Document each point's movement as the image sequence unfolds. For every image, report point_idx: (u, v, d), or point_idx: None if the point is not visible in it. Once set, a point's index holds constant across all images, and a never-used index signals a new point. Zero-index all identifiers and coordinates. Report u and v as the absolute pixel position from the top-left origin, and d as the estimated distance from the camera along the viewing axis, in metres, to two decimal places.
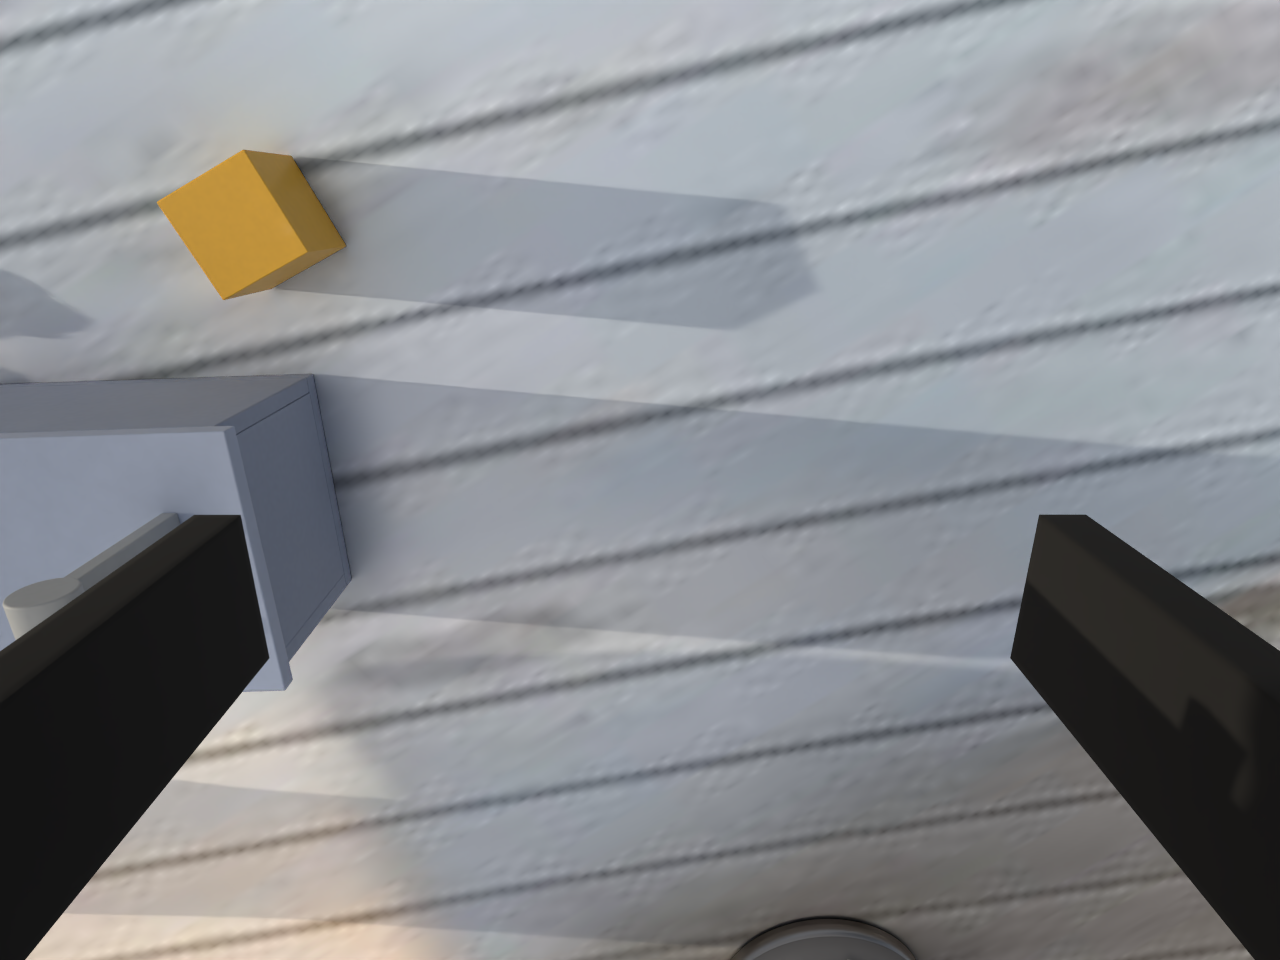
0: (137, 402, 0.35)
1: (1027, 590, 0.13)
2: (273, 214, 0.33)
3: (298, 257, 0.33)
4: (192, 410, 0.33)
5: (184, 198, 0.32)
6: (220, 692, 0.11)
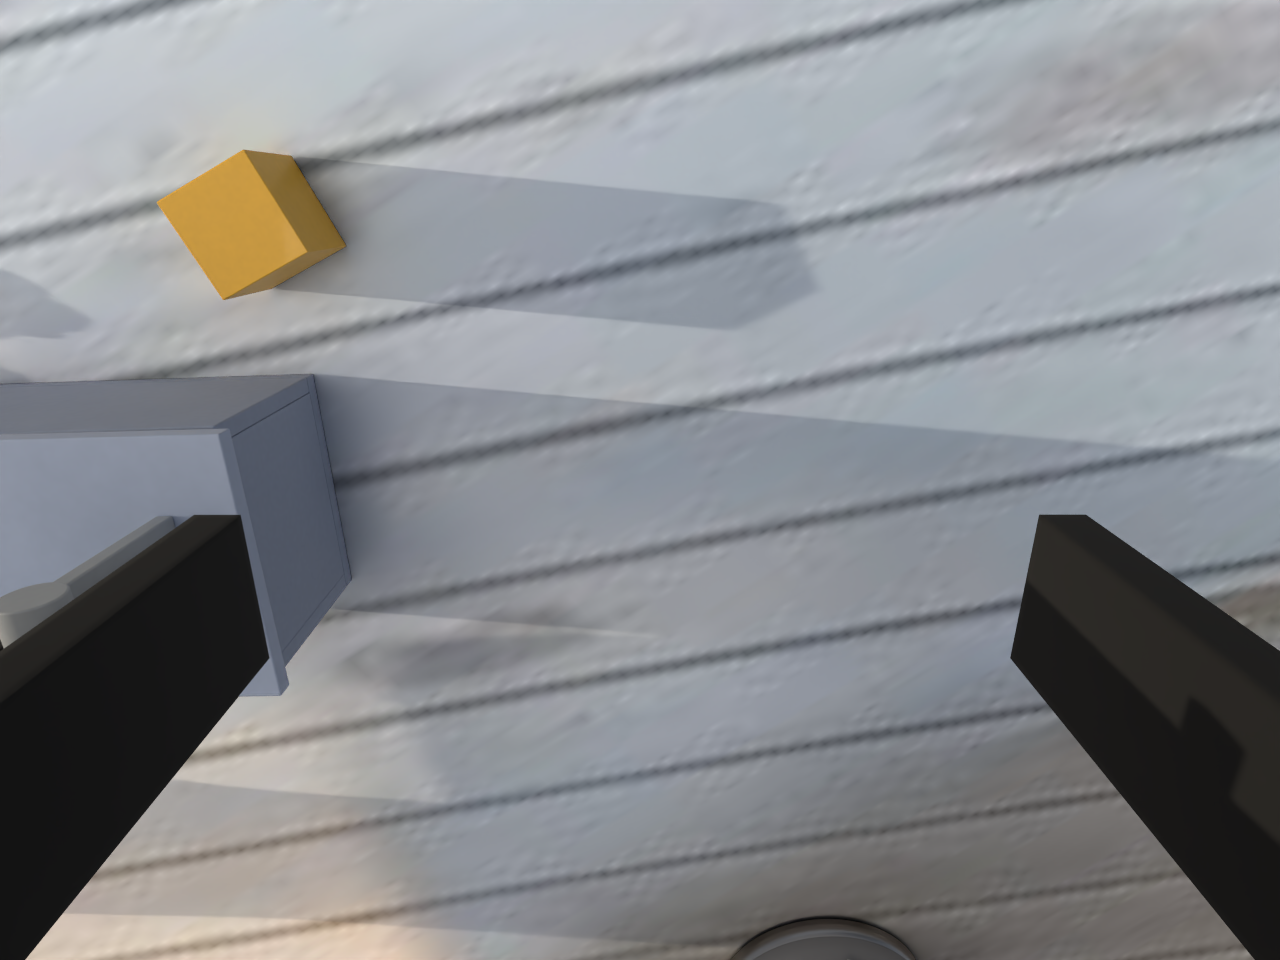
0: (137, 402, 0.35)
1: (1027, 590, 0.13)
2: (273, 214, 0.33)
3: (298, 257, 0.33)
4: (192, 410, 0.33)
5: (184, 198, 0.32)
6: (220, 692, 0.11)
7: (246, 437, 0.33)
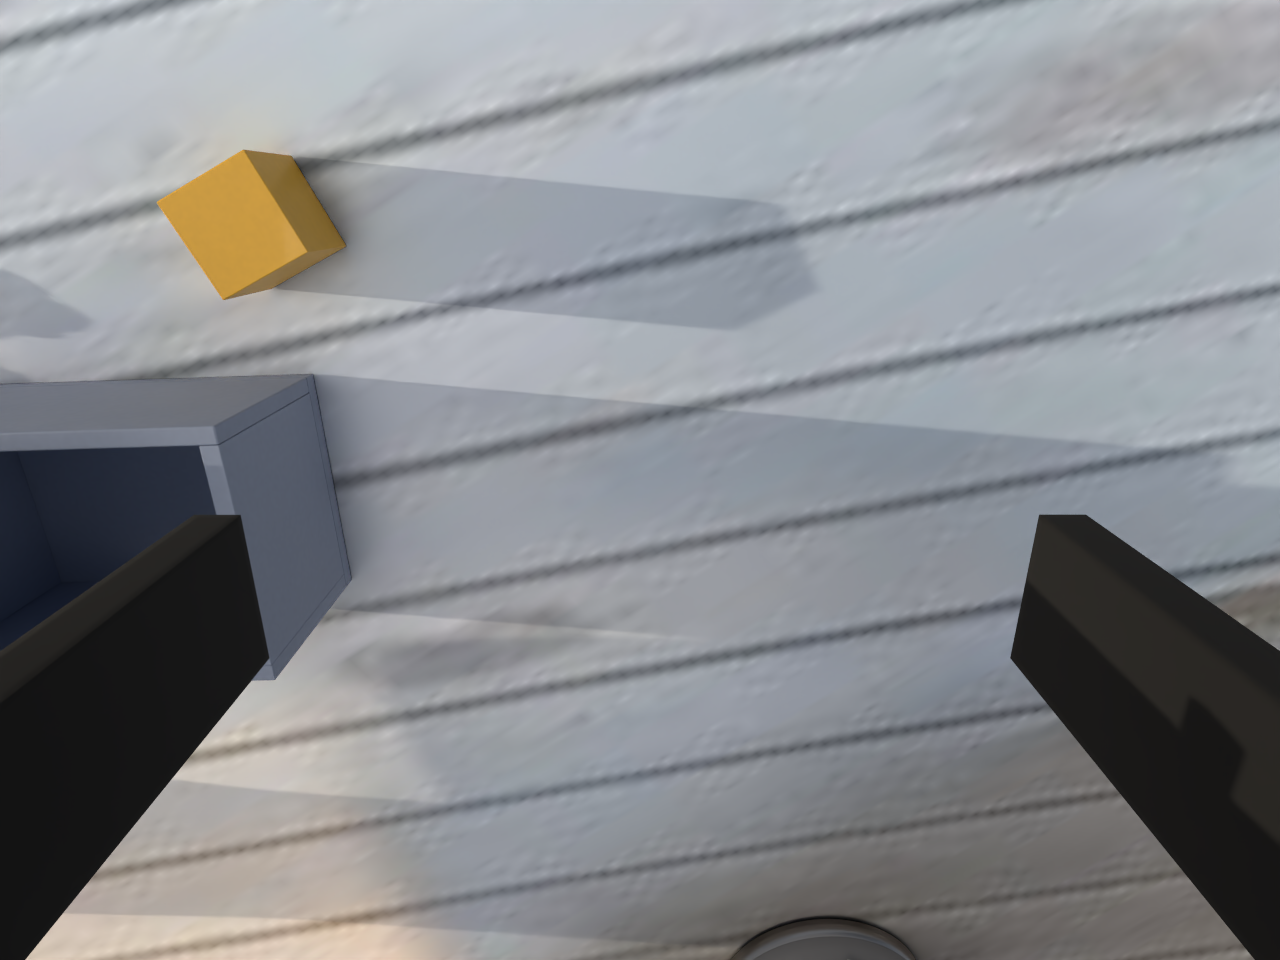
0: (137, 402, 0.35)
1: (1027, 590, 0.13)
2: (273, 214, 0.33)
3: (298, 257, 0.33)
4: (192, 410, 0.33)
5: (184, 198, 0.32)
6: (220, 692, 0.11)
7: (246, 437, 0.33)
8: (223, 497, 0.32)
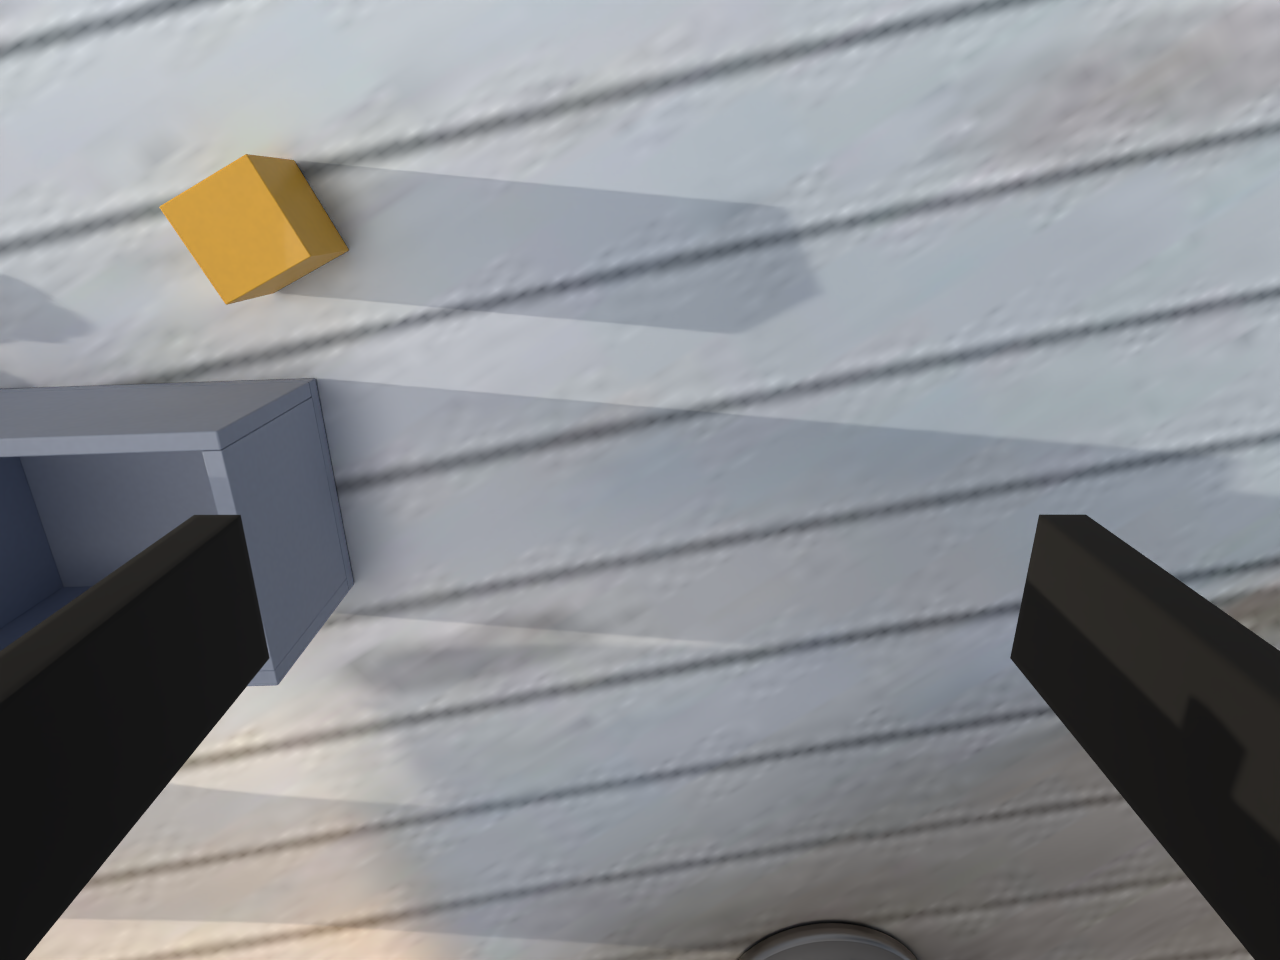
0: (139, 407, 0.35)
1: (1026, 590, 0.13)
2: (276, 219, 0.32)
3: (301, 261, 0.33)
4: (194, 415, 0.33)
5: (187, 203, 0.32)
6: (219, 692, 0.11)
7: (248, 442, 0.33)
8: (225, 502, 0.31)
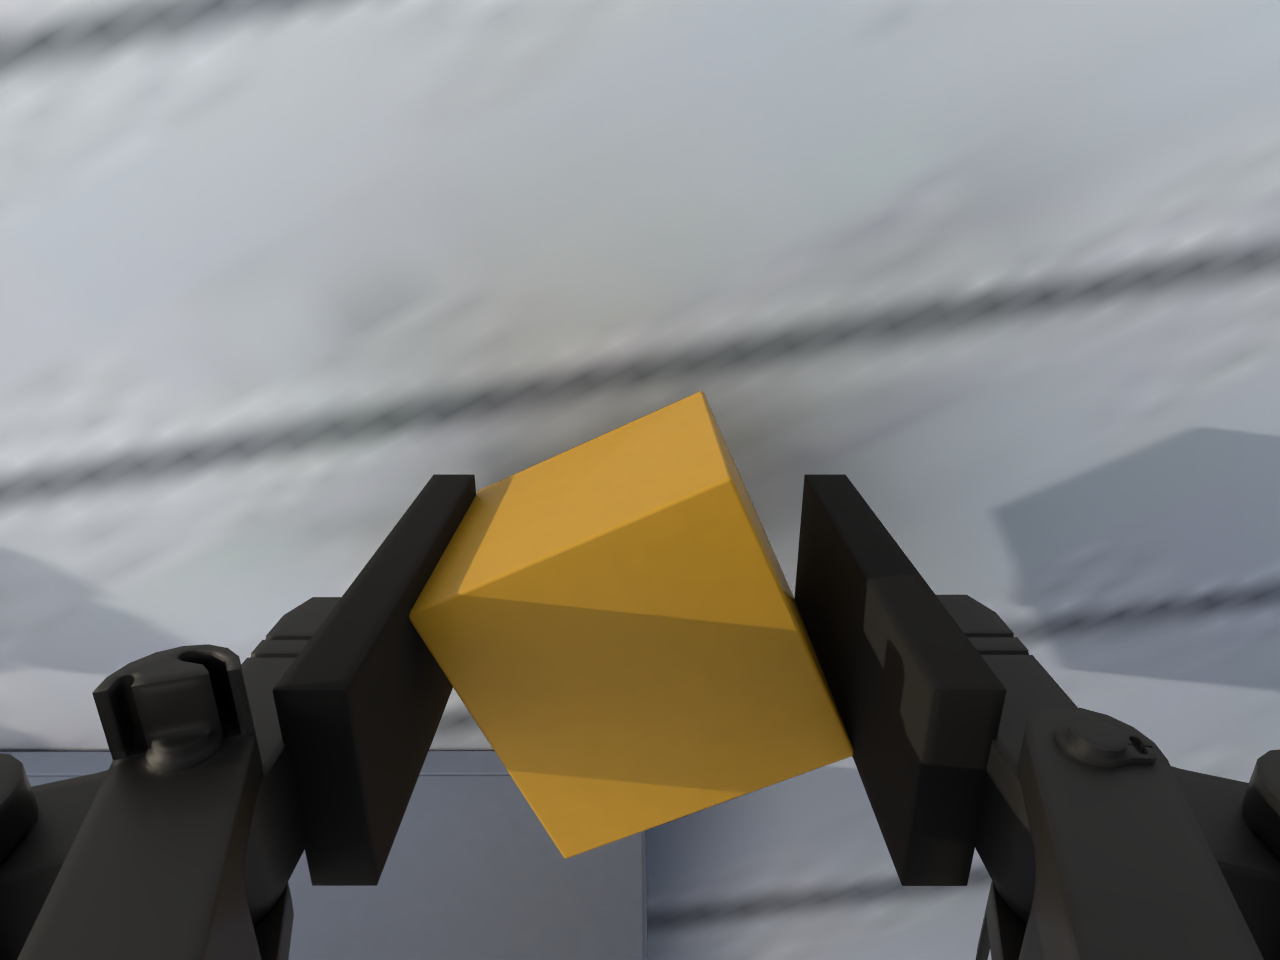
0: (328, 945, 0.14)
1: (801, 542, 0.14)
2: (779, 660, 0.10)
3: (818, 764, 0.11)
4: None
5: (501, 609, 0.10)
6: None
7: None
8: None
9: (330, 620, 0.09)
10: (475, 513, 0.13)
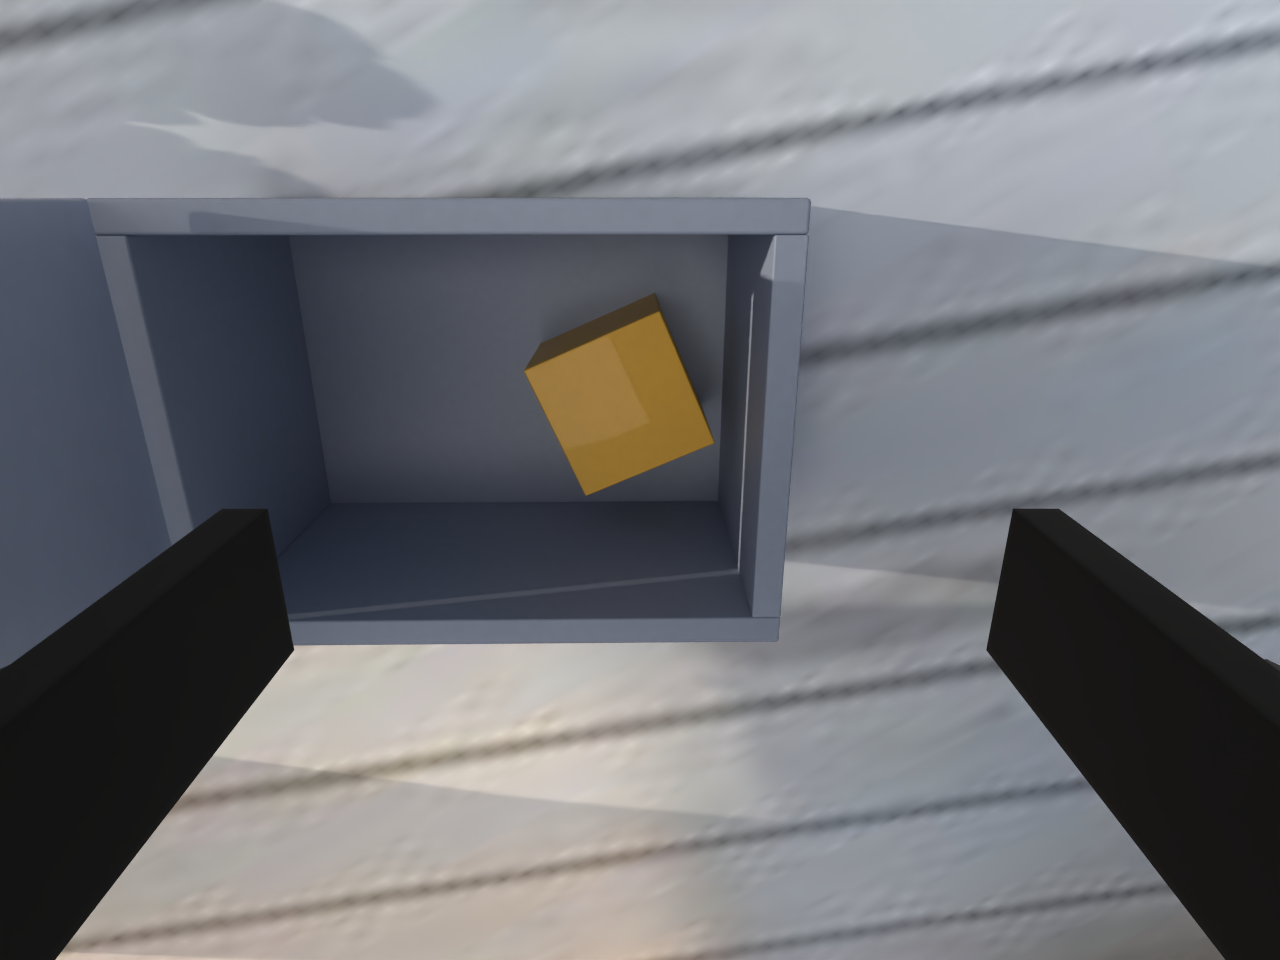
0: None
1: (1001, 583, 0.13)
2: (680, 395, 0.24)
3: (699, 448, 0.25)
4: None
5: (563, 368, 0.23)
6: (248, 682, 0.12)
7: None
8: (789, 329, 0.19)
9: None
10: (542, 347, 0.26)
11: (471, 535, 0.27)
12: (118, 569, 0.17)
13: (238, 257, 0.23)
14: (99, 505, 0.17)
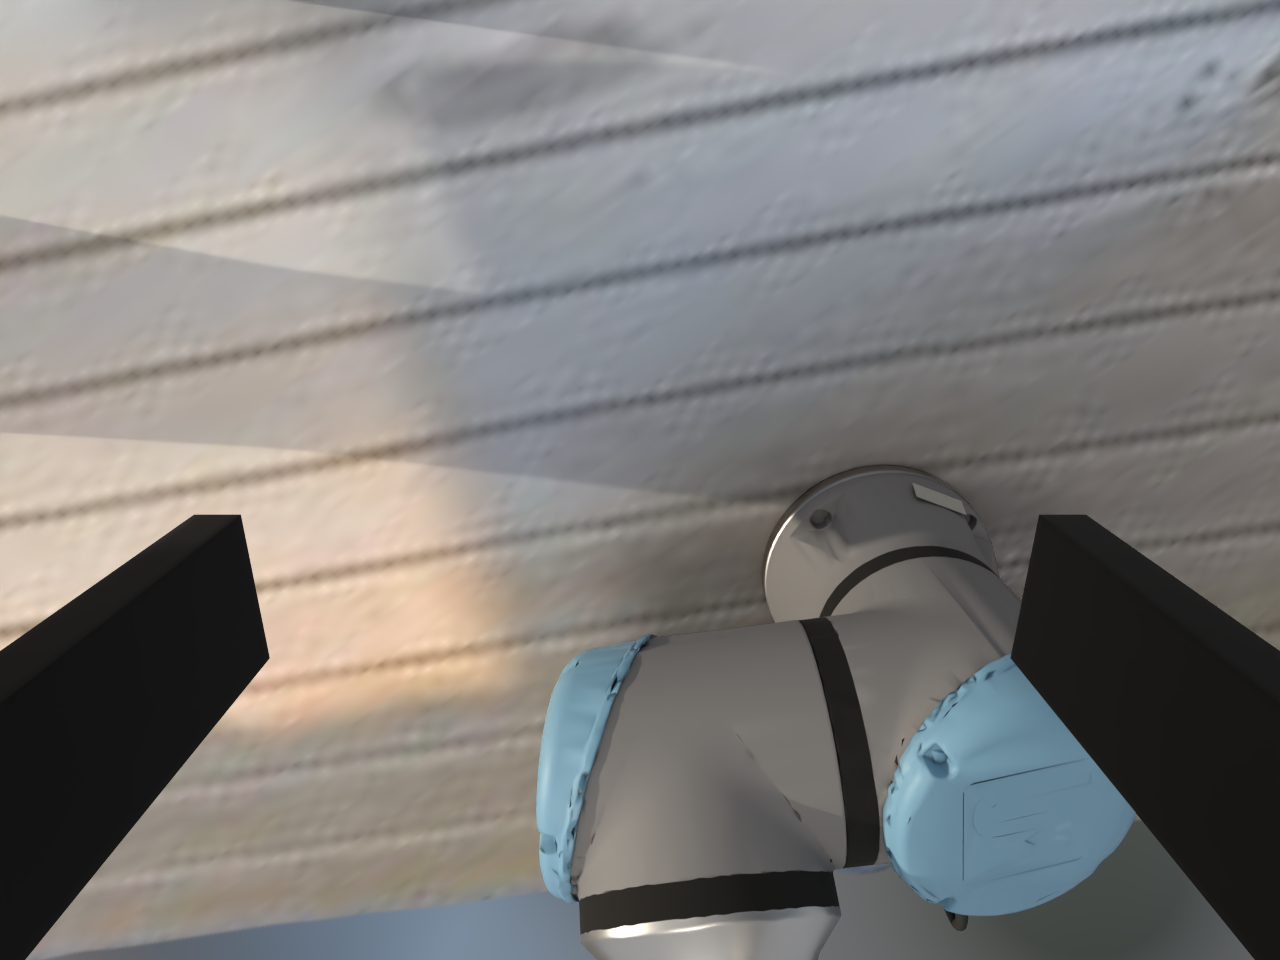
0: None
1: (1026, 590, 0.13)
2: None
3: None
4: None
5: None
6: (219, 692, 0.11)
7: None
8: None
9: None
10: None
11: None
12: None
13: None
14: None
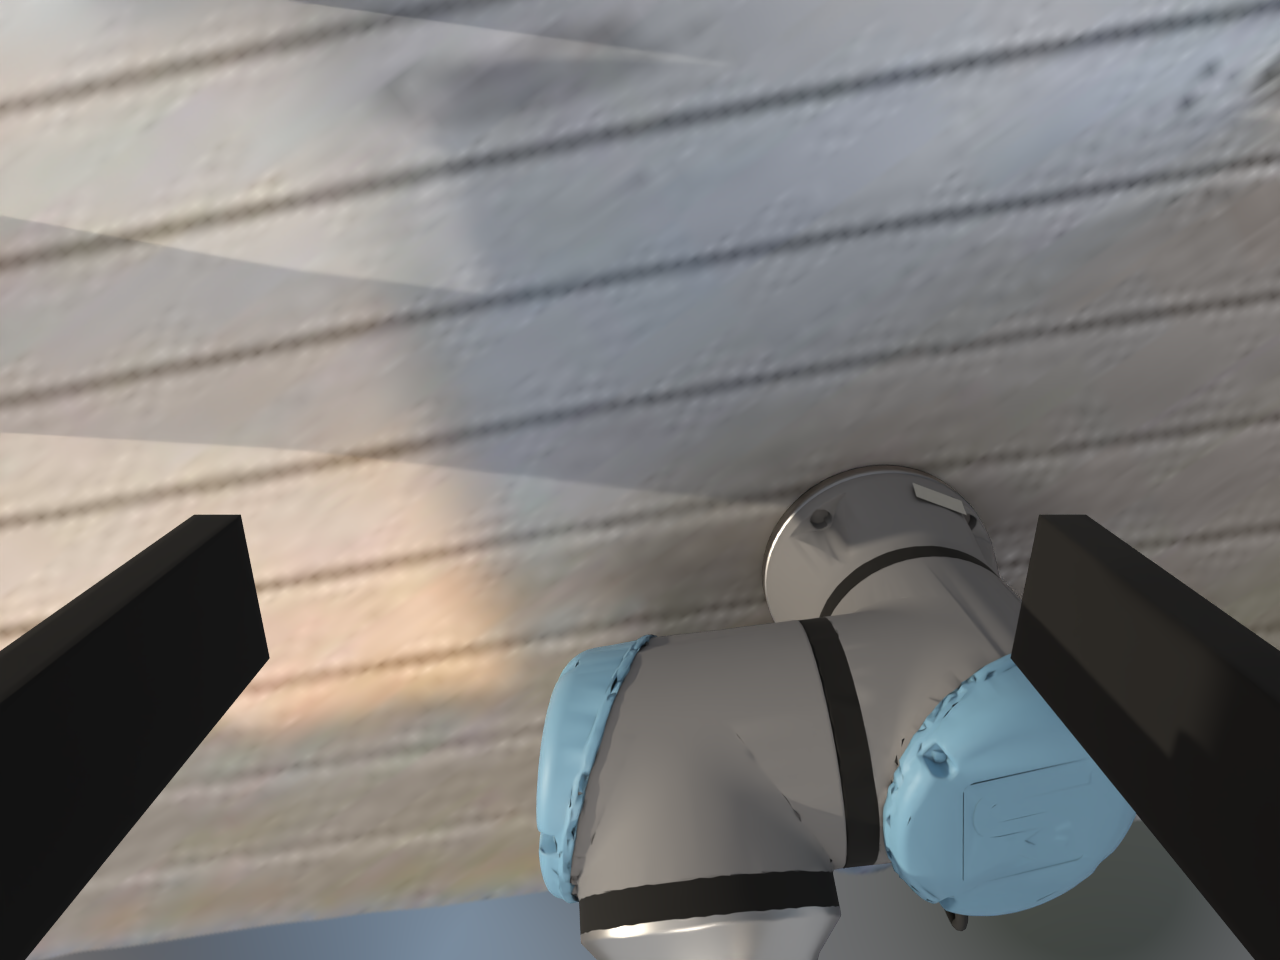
0: None
1: (1026, 590, 0.13)
2: None
3: None
4: None
5: None
6: (219, 692, 0.11)
7: None
8: None
9: None
10: None
11: None
12: None
13: None
14: None
